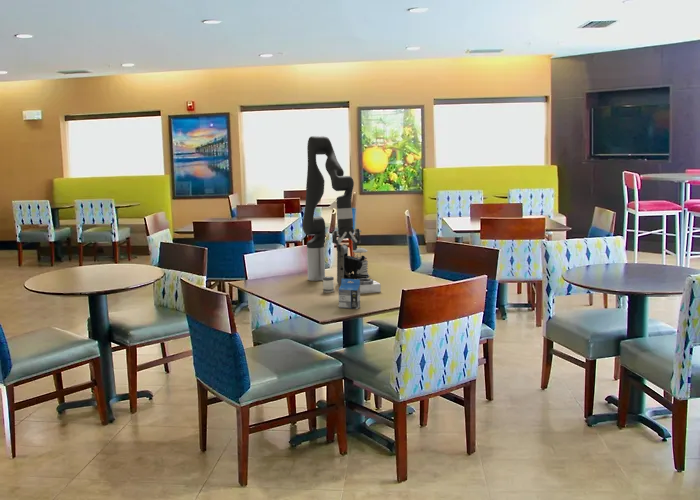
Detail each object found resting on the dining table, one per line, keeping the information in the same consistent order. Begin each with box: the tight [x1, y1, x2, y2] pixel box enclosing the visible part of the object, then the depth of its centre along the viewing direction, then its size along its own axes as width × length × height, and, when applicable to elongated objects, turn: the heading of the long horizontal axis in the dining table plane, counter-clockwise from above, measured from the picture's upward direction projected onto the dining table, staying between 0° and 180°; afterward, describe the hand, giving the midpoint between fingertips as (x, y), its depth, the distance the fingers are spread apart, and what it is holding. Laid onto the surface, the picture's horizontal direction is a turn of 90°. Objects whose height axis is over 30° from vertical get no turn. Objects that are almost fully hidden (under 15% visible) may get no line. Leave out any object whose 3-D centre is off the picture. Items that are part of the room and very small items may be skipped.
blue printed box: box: [338, 279, 361, 310], centre depth 306 cm, size 9×4×12 cm, turn 69°
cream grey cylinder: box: [322, 276, 335, 294], centre depth 342 cm, size 5×5×7 cm
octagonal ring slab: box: [348, 278, 382, 295], centre depth 340 cm, size 9×15×6 cm, turn 106°
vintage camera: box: [336, 243, 370, 286], centre depth 360 cm, size 10×16×20 cm, turn 79°
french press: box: [352, 229, 371, 277], centre depth 380 cm, size 10×12×25 cm
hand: (347, 251), depth 342 cm, fingers open, 8 cm apart
